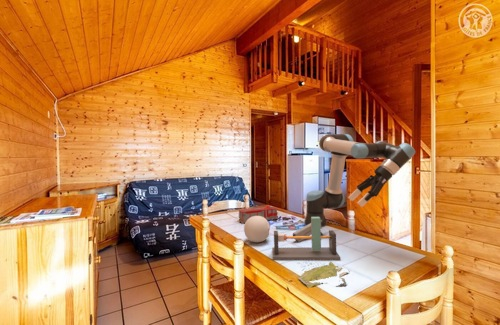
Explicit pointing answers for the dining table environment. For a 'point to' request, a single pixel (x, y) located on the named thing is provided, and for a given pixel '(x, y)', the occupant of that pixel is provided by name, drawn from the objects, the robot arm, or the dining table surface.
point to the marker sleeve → (316, 233)
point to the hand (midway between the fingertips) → (354, 202)
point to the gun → (306, 231)
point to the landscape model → (321, 274)
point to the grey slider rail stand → (305, 249)
